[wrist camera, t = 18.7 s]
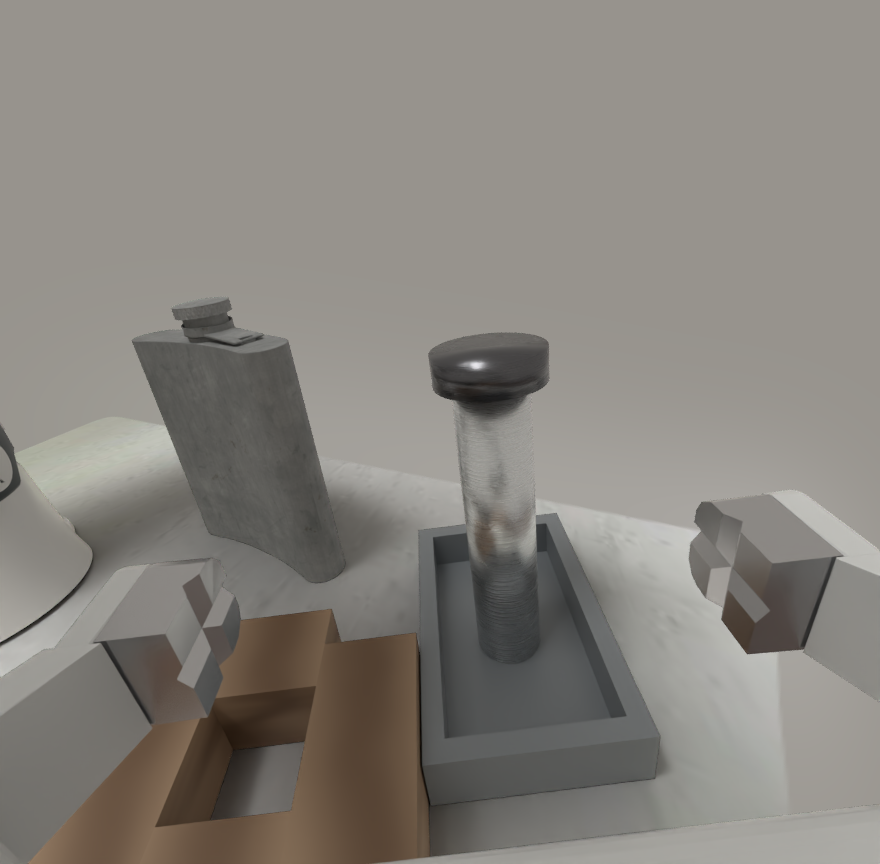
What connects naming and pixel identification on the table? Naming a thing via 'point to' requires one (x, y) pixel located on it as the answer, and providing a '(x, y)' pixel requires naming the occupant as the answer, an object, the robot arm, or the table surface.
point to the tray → (524, 684)
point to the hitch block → (264, 724)
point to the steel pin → (497, 478)
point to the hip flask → (243, 436)
